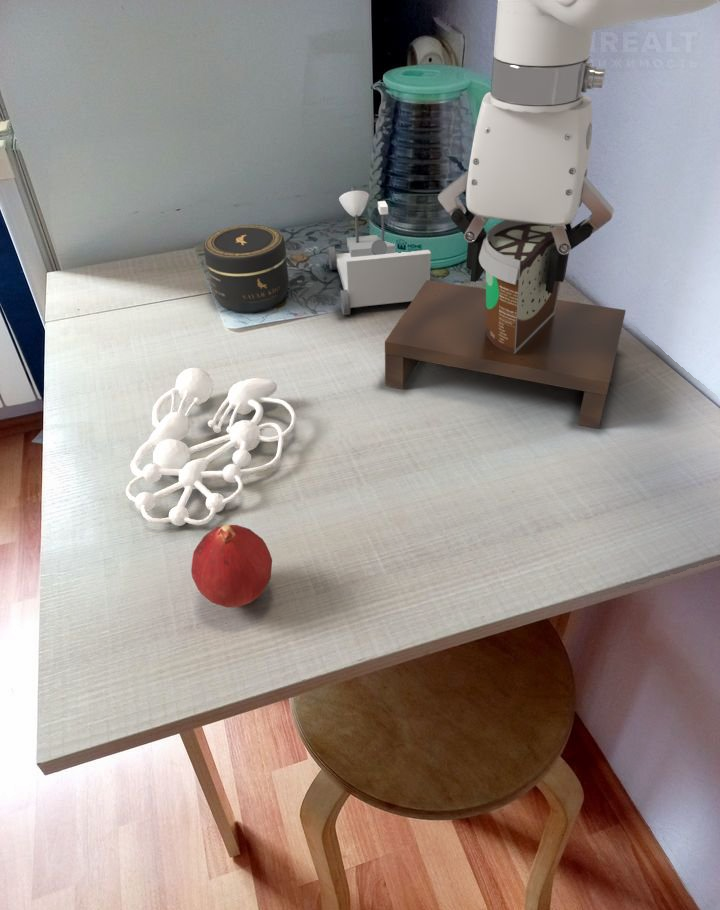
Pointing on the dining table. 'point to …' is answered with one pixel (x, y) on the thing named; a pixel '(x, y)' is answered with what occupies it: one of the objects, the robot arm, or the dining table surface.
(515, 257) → the food container
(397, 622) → the dining table surface
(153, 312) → the dining table surface
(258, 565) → the onion
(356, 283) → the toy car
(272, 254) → the jar
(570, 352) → the shelf
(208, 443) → the tangled rod sculpture
